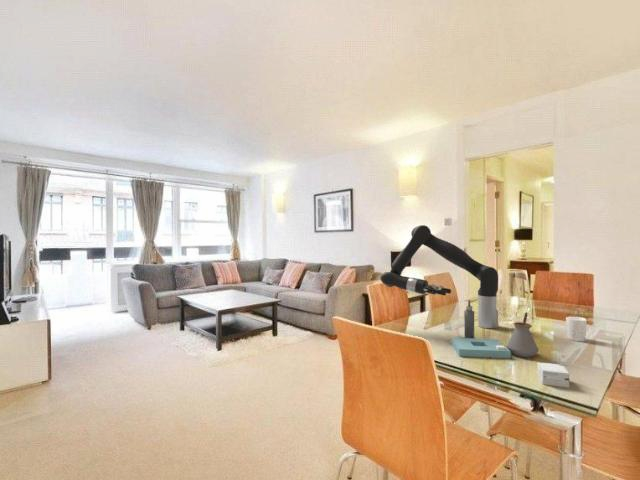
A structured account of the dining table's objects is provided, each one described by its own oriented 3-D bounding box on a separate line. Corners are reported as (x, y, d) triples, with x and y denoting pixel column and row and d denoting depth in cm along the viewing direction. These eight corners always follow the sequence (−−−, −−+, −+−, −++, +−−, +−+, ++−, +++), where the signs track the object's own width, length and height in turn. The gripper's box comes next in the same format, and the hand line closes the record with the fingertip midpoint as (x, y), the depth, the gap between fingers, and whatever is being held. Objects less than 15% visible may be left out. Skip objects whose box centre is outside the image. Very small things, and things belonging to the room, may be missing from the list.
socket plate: (496, 345, 153) (496, 336, 153) (510, 358, 138) (510, 348, 138) (450, 343, 157) (450, 335, 157) (459, 356, 141) (459, 346, 141)
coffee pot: (537, 361, 134) (536, 324, 134) (504, 355, 141) (504, 320, 141) (541, 346, 151) (541, 313, 151) (512, 342, 158) (512, 310, 158)
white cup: (582, 337, 163) (582, 317, 163) (589, 342, 155) (589, 321, 155) (563, 336, 165) (563, 316, 165) (569, 341, 158) (569, 320, 158)
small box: (542, 384, 114) (542, 369, 114) (537, 375, 121) (537, 361, 121) (569, 388, 111) (569, 373, 111) (563, 379, 118) (562, 364, 118)
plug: (473, 338, 164) (472, 299, 163) (475, 341, 159) (475, 301, 159) (463, 338, 165) (463, 299, 164) (465, 341, 160) (465, 300, 160)
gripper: (413, 279, 172) (445, 286, 162) (422, 277, 183) (453, 283, 173) (411, 294, 172) (443, 301, 162) (420, 291, 183) (451, 298, 174)
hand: (448, 292), depth 168 cm, fingers open, 8 cm apart
